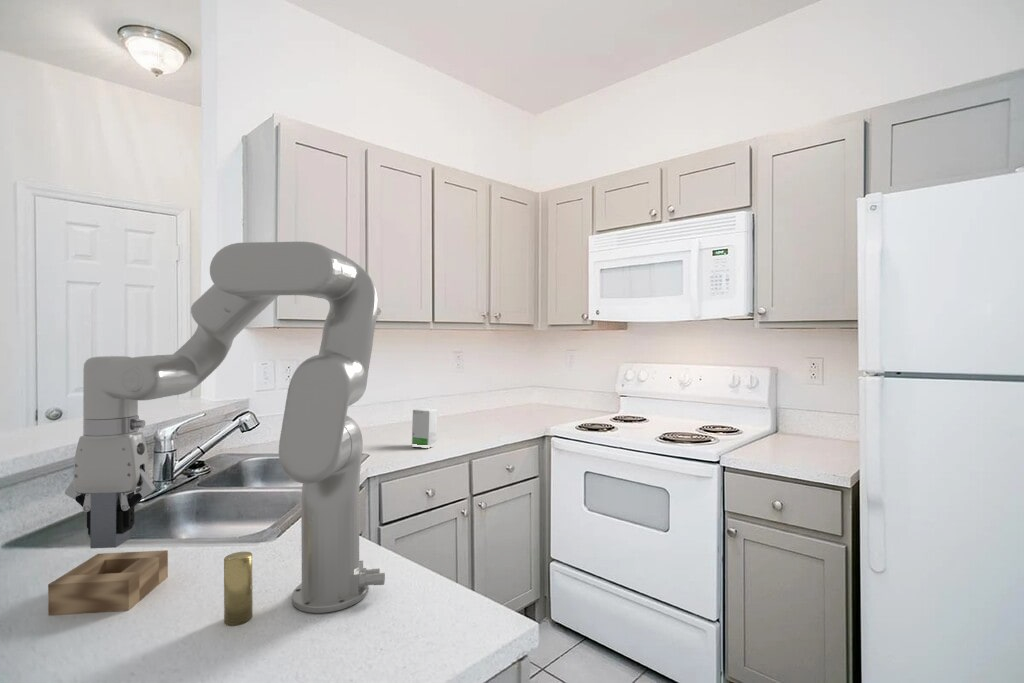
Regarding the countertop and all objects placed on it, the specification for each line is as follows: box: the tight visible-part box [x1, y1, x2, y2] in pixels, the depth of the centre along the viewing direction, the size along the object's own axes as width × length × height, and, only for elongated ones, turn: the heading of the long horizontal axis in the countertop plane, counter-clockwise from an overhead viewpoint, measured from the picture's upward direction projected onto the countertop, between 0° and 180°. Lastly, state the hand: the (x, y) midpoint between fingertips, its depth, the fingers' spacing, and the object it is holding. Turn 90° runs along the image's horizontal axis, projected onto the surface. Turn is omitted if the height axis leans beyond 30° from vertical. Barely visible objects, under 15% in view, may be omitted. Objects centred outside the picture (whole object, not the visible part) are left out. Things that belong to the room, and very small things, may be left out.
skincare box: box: [411, 407, 438, 445], centre depth 211 cm, size 8×7×16 cm
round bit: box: [223, 551, 254, 627], centre depth 82 cm, size 4×4×10 cm
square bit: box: [89, 492, 131, 549], centre depth 90 cm, size 4×4×10 cm
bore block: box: [47, 550, 169, 616], centre depth 90 cm, size 12×12×5 cm
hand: (110, 530), depth 90 cm, fingers closed on square bit, 4 cm apart
